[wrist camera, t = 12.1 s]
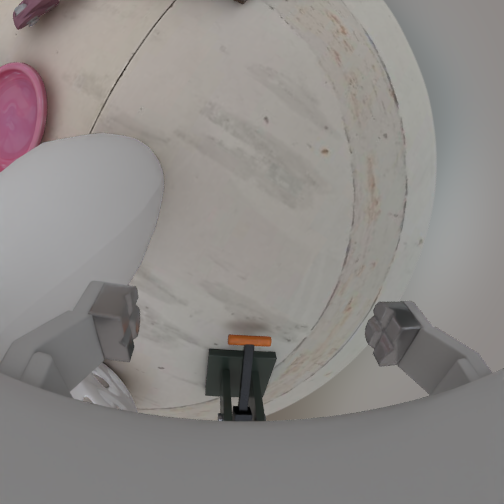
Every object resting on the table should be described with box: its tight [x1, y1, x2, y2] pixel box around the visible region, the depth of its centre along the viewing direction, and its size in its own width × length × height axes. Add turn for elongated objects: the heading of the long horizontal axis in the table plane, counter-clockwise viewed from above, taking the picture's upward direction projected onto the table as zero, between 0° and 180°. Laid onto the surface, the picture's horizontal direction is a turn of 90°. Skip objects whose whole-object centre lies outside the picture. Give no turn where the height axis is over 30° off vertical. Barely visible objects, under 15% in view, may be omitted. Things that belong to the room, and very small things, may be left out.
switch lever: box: [228, 334, 271, 421], centre depth 32 cm, size 13×5×2 cm
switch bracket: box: [205, 349, 277, 421], centre depth 34 cm, size 10×9×10 cm
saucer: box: [0, 62, 47, 172], centre depth 18 cm, size 12×12×3 cm
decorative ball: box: [70, 363, 137, 412], centre depth 30 cm, size 20×20×17 cm
